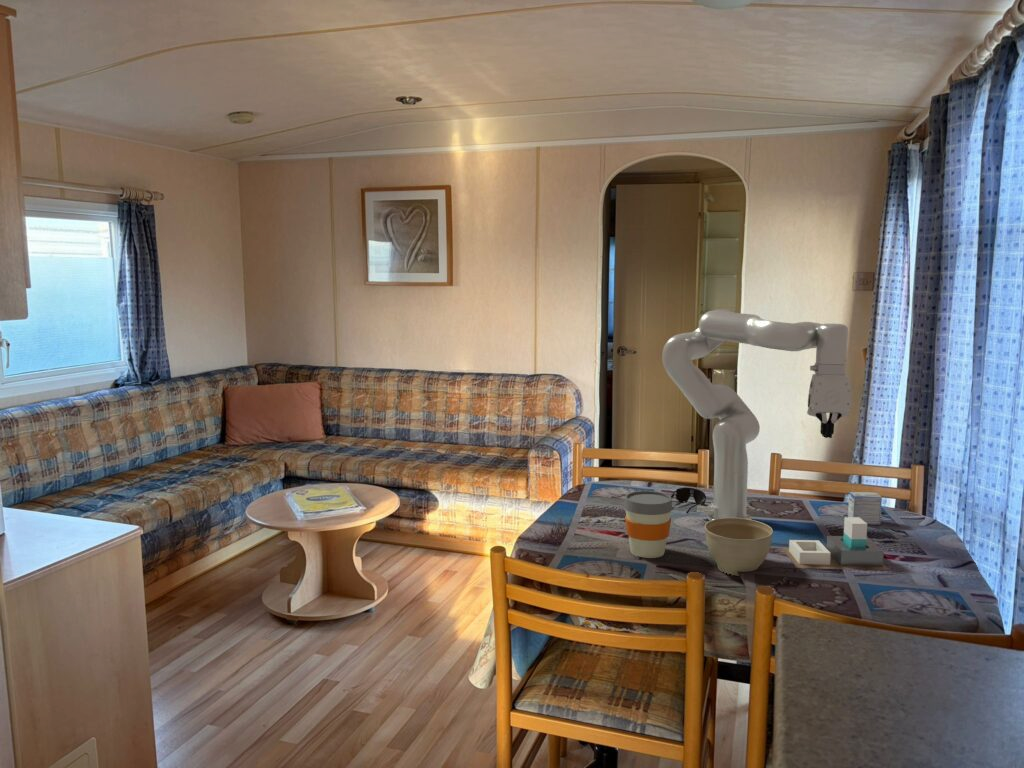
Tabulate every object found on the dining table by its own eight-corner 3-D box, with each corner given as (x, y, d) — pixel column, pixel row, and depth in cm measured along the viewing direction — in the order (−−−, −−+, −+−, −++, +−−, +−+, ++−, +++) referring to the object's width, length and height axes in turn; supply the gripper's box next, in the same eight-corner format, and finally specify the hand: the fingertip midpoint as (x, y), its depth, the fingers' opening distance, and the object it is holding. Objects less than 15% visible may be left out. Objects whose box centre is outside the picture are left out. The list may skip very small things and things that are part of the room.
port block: (840, 566, 183) (841, 550, 182) (826, 550, 193) (827, 535, 192) (882, 566, 182) (883, 551, 181) (866, 551, 192) (866, 536, 191)
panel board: (796, 573, 182) (797, 567, 182) (780, 552, 196) (781, 547, 195) (889, 575, 180) (890, 569, 180) (866, 554, 194) (867, 548, 194)
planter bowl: (719, 552, 196) (720, 513, 195) (780, 567, 186) (782, 525, 184) (692, 571, 184) (693, 529, 182) (756, 588, 174) (758, 544, 172)
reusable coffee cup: (635, 563, 190) (636, 506, 188) (616, 546, 202) (616, 492, 200) (680, 557, 193) (681, 502, 191) (658, 541, 205) (659, 488, 203)
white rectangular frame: (799, 563, 184) (799, 552, 184) (789, 551, 193) (789, 539, 192) (829, 564, 184) (830, 553, 183) (818, 551, 192) (818, 540, 192)
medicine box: (874, 520, 221) (876, 492, 219) (880, 525, 216) (882, 496, 215) (847, 519, 221) (848, 491, 220) (852, 524, 217) (854, 496, 216)
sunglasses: (708, 504, 237) (707, 490, 236) (694, 519, 228) (693, 504, 227) (677, 499, 243) (676, 485, 242) (662, 513, 234) (661, 499, 233)
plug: (850, 562, 185) (852, 523, 183) (842, 554, 190) (844, 517, 188) (864, 562, 185) (867, 523, 183) (856, 554, 190) (859, 517, 188)
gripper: (806, 371, 195) (802, 439, 198) (864, 371, 194) (860, 440, 197) (797, 368, 203) (794, 433, 205) (854, 368, 202) (850, 434, 204)
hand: (826, 436), depth 201 cm, fingers closed
